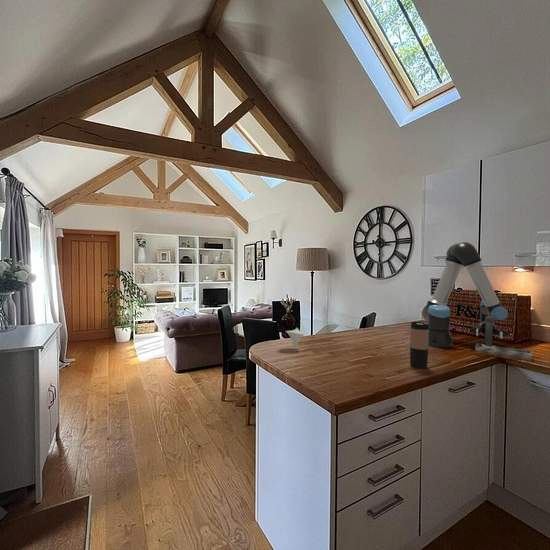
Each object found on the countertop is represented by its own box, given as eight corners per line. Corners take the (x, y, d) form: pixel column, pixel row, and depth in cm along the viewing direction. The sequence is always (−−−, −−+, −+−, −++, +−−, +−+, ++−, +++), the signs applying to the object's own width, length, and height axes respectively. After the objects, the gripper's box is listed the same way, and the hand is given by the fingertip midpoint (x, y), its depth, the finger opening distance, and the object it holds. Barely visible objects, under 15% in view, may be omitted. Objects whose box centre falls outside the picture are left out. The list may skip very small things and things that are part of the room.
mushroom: (293, 346, 177) (294, 325, 177) (308, 349, 169) (308, 327, 169) (280, 349, 170) (281, 327, 169) (295, 353, 162) (296, 330, 162)
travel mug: (408, 366, 142) (410, 323, 142) (410, 362, 149) (411, 321, 149) (427, 369, 139) (428, 325, 138) (428, 365, 145) (429, 322, 145)
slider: (481, 350, 169) (482, 315, 169) (481, 348, 173) (482, 314, 173) (495, 352, 166) (496, 317, 165) (494, 350, 170) (495, 315, 170)
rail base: (475, 353, 168) (475, 345, 168) (475, 349, 178) (475, 341, 178) (532, 361, 155) (532, 352, 155) (528, 356, 165) (529, 347, 165)
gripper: (511, 337, 178) (515, 344, 160) (465, 332, 191) (464, 338, 172) (511, 324, 178) (516, 330, 160) (465, 320, 191) (464, 325, 172)
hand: (489, 334), depth 166 cm, fingers open, 10 cm apart
